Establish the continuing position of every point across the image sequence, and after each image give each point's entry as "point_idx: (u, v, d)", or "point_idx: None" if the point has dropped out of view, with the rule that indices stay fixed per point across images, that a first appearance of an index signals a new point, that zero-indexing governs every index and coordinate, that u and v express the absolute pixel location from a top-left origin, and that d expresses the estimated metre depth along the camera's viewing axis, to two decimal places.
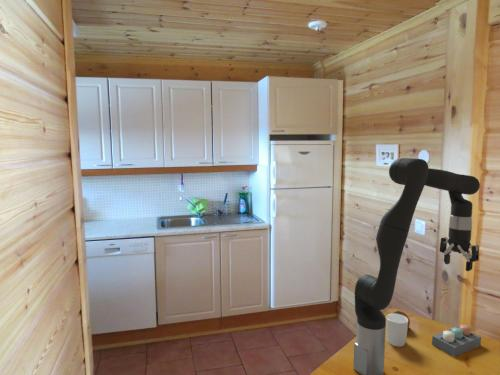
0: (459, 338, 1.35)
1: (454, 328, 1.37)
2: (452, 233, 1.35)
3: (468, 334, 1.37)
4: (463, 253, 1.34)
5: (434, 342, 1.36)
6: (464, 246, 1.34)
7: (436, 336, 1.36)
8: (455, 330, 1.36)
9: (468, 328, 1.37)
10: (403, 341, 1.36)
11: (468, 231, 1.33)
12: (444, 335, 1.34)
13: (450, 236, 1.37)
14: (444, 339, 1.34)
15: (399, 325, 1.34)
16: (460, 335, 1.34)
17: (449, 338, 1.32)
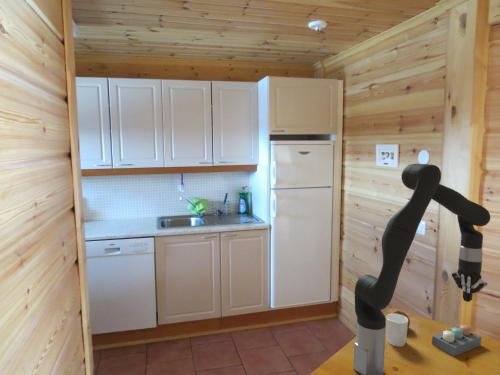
0: (459, 338, 1.35)
1: (454, 328, 1.37)
2: (462, 264, 1.34)
3: (468, 334, 1.37)
4: (468, 284, 1.34)
5: (434, 342, 1.36)
6: (474, 278, 1.33)
7: (436, 336, 1.36)
8: (455, 330, 1.36)
9: (468, 328, 1.37)
10: (403, 341, 1.36)
11: (479, 263, 1.31)
12: (444, 335, 1.34)
13: (460, 267, 1.35)
14: (444, 339, 1.34)
15: (399, 325, 1.34)
16: (460, 335, 1.34)
17: (449, 338, 1.32)
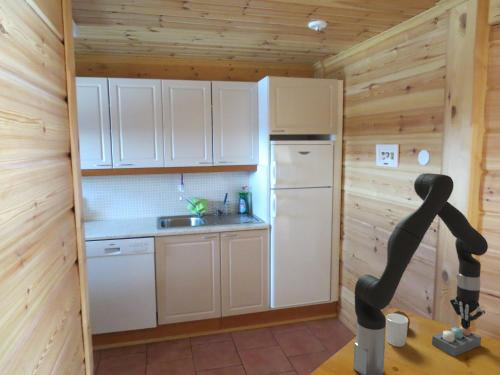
0: (459, 338, 1.35)
1: (454, 328, 1.37)
2: (460, 292, 1.35)
3: (468, 335, 1.37)
4: (466, 312, 1.36)
5: (434, 342, 1.36)
6: (472, 306, 1.34)
7: (436, 336, 1.36)
8: (455, 330, 1.36)
9: (468, 329, 1.37)
10: (403, 341, 1.36)
11: (476, 291, 1.33)
12: (444, 335, 1.34)
13: (458, 295, 1.36)
14: (444, 339, 1.34)
15: (399, 325, 1.34)
16: (460, 335, 1.34)
17: (449, 338, 1.32)
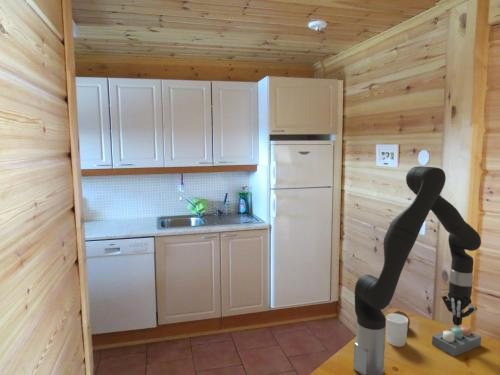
0: (459, 338, 1.35)
1: (454, 328, 1.37)
2: (452, 288, 1.33)
3: (468, 336, 1.37)
4: (458, 309, 1.33)
5: (434, 342, 1.36)
6: (464, 302, 1.32)
7: (436, 336, 1.36)
8: (455, 330, 1.36)
9: (468, 330, 1.37)
10: (403, 341, 1.36)
11: (469, 287, 1.30)
12: (444, 335, 1.34)
13: (450, 291, 1.34)
14: (444, 339, 1.34)
15: (399, 325, 1.34)
16: (460, 335, 1.34)
17: (449, 338, 1.32)
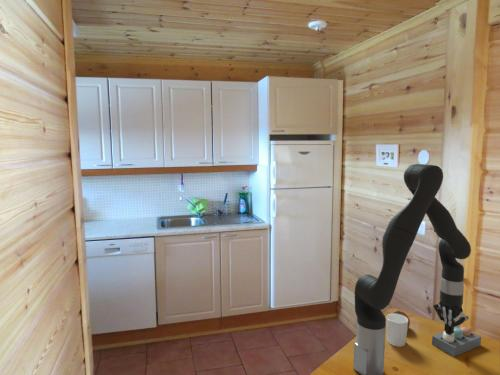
0: (459, 338, 1.35)
1: (454, 328, 1.37)
2: (443, 297, 1.31)
3: (468, 336, 1.37)
4: (449, 318, 1.31)
5: (434, 342, 1.36)
6: (455, 311, 1.30)
7: (436, 336, 1.36)
8: (455, 330, 1.36)
9: (468, 330, 1.37)
10: (403, 341, 1.36)
11: (460, 296, 1.28)
12: (444, 335, 1.34)
13: (441, 300, 1.32)
14: (444, 339, 1.34)
15: (399, 325, 1.34)
16: (460, 335, 1.34)
17: (449, 339, 1.32)
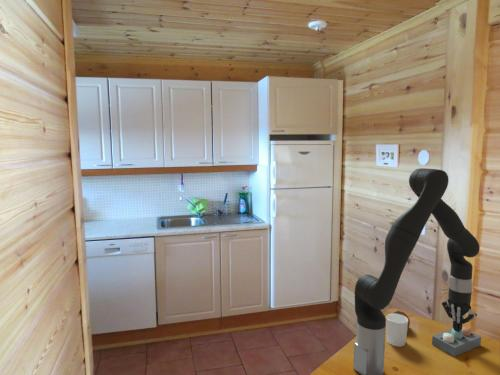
0: (459, 339, 1.35)
1: None
2: (452, 295, 1.33)
3: (468, 336, 1.37)
4: (458, 315, 1.34)
5: (434, 342, 1.36)
6: (464, 308, 1.32)
7: (436, 336, 1.36)
8: (455, 331, 1.36)
9: (468, 330, 1.37)
10: (403, 341, 1.36)
11: (468, 294, 1.30)
12: (444, 337, 1.34)
13: (450, 297, 1.34)
14: None
15: (399, 325, 1.34)
16: (460, 336, 1.34)
17: (449, 341, 1.32)
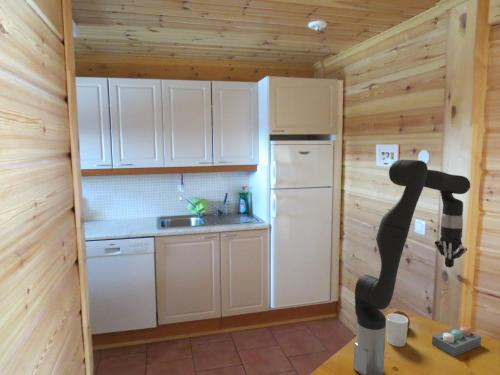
0: None
1: (454, 330, 1.37)
2: (444, 231, 1.40)
3: (468, 336, 1.37)
4: (449, 251, 1.41)
5: (434, 342, 1.36)
6: (455, 244, 1.39)
7: (436, 336, 1.36)
8: (455, 332, 1.36)
9: (468, 330, 1.37)
10: (403, 341, 1.36)
11: (459, 229, 1.38)
12: (444, 337, 1.34)
13: (442, 234, 1.41)
14: None
15: (399, 325, 1.34)
16: (460, 337, 1.35)
17: (449, 341, 1.32)
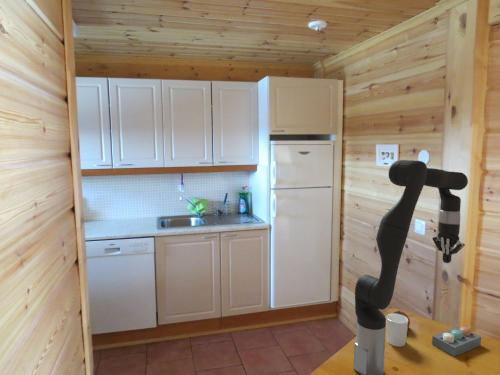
0: None
1: (454, 330, 1.37)
2: (441, 227, 1.41)
3: (468, 336, 1.37)
4: (447, 246, 1.42)
5: (434, 342, 1.36)
6: (452, 239, 1.40)
7: (436, 336, 1.36)
8: (455, 332, 1.36)
9: (468, 330, 1.37)
10: (403, 341, 1.36)
11: (456, 225, 1.39)
12: (444, 337, 1.34)
13: (440, 230, 1.43)
14: None
15: (399, 325, 1.34)
16: (460, 337, 1.35)
17: (449, 341, 1.32)
